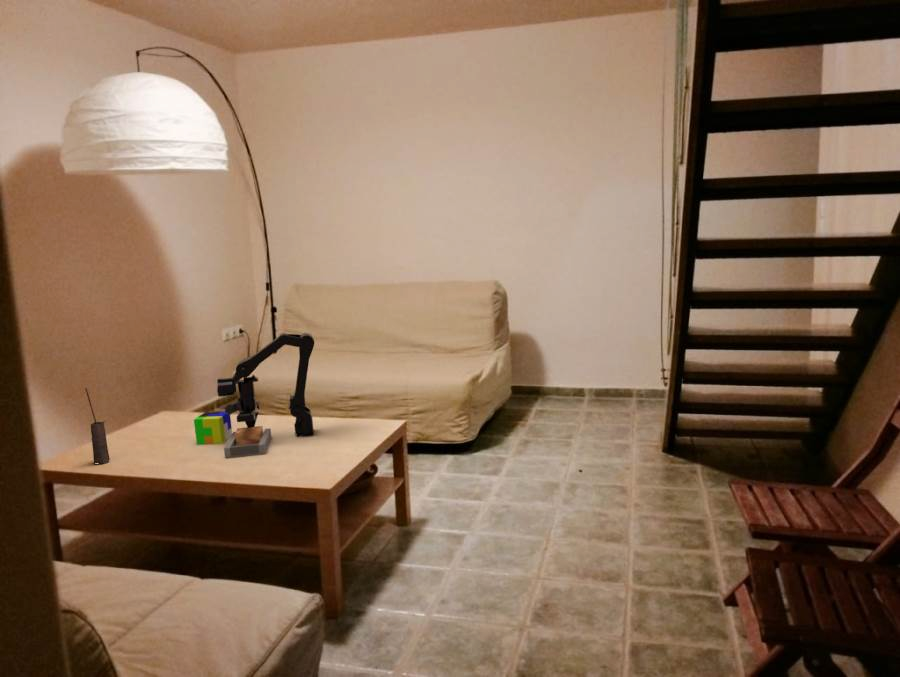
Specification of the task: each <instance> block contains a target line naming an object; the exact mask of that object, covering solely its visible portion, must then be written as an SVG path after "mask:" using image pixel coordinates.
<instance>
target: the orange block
mask: <svg viewBox="0 0 900 677" xmlns="http://www.w3.org/2000/svg"><path fill="white" fill-rule="evenodd" d="M234 432H235V438H236V446H237V445H247V444H257V443H260V440H261V438H262V435H263V433H264V430H263V426H262V425H259V426H255V427H247V426H246V427H239V428H237V429H236V430H235V431H234Z"/></svg>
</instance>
